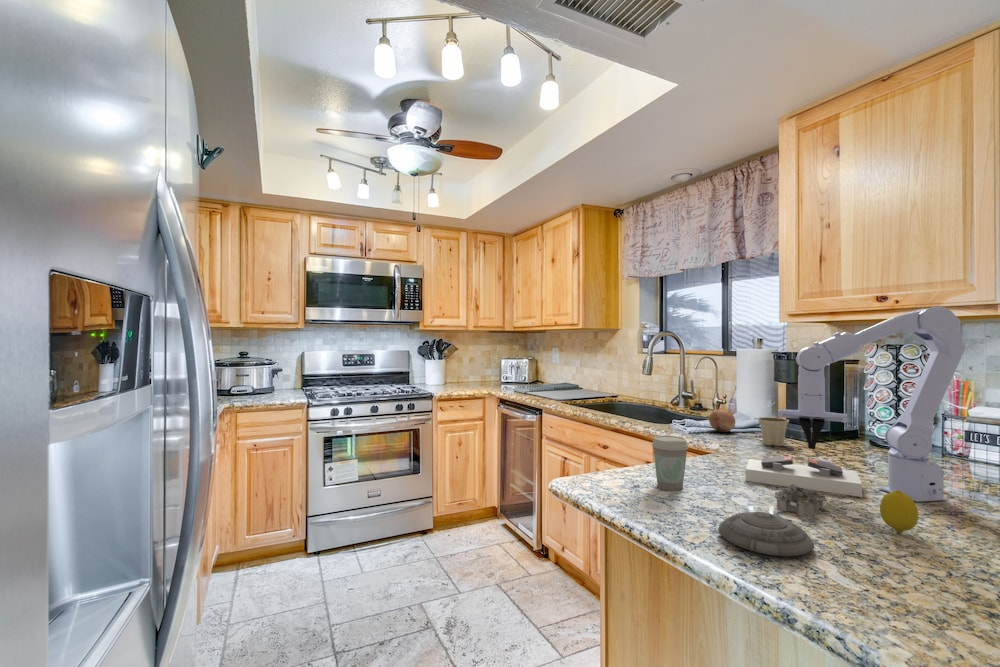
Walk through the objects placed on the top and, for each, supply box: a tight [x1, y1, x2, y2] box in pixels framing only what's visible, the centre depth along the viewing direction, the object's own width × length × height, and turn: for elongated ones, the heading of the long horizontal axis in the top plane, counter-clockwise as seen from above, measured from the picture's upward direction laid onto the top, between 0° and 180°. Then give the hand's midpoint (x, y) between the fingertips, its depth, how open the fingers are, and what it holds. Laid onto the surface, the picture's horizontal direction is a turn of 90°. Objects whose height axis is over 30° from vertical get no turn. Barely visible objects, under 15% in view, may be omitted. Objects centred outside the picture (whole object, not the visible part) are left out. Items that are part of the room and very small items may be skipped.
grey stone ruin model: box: [774, 484, 826, 517], centre depth 103 cm, size 11×8×4 cm
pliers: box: [817, 456, 847, 470], centre depth 135 cm, size 10×2×15 cm
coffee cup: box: [651, 435, 689, 492], centre depth 117 cm, size 8×8×12 cm
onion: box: [708, 407, 736, 434], centre depth 186 cm, size 10×9×10 cm
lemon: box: [879, 490, 919, 534], centre depth 90 cm, size 6×6×8 cm
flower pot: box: [757, 416, 790, 447], centre depth 164 cm, size 9×9×9 cm
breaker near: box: [807, 457, 843, 476], centre depth 118 cm, size 7×5×2 cm
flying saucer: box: [717, 511, 815, 557], centre depth 85 cm, size 15×15×6 cm
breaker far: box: [761, 455, 794, 466], centre depth 124 cm, size 7×5×2 cm
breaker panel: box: [745, 456, 863, 498], centre depth 121 cm, size 24×12×5 cm, turn 58°
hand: (811, 448), depth 120 cm, fingers closed
